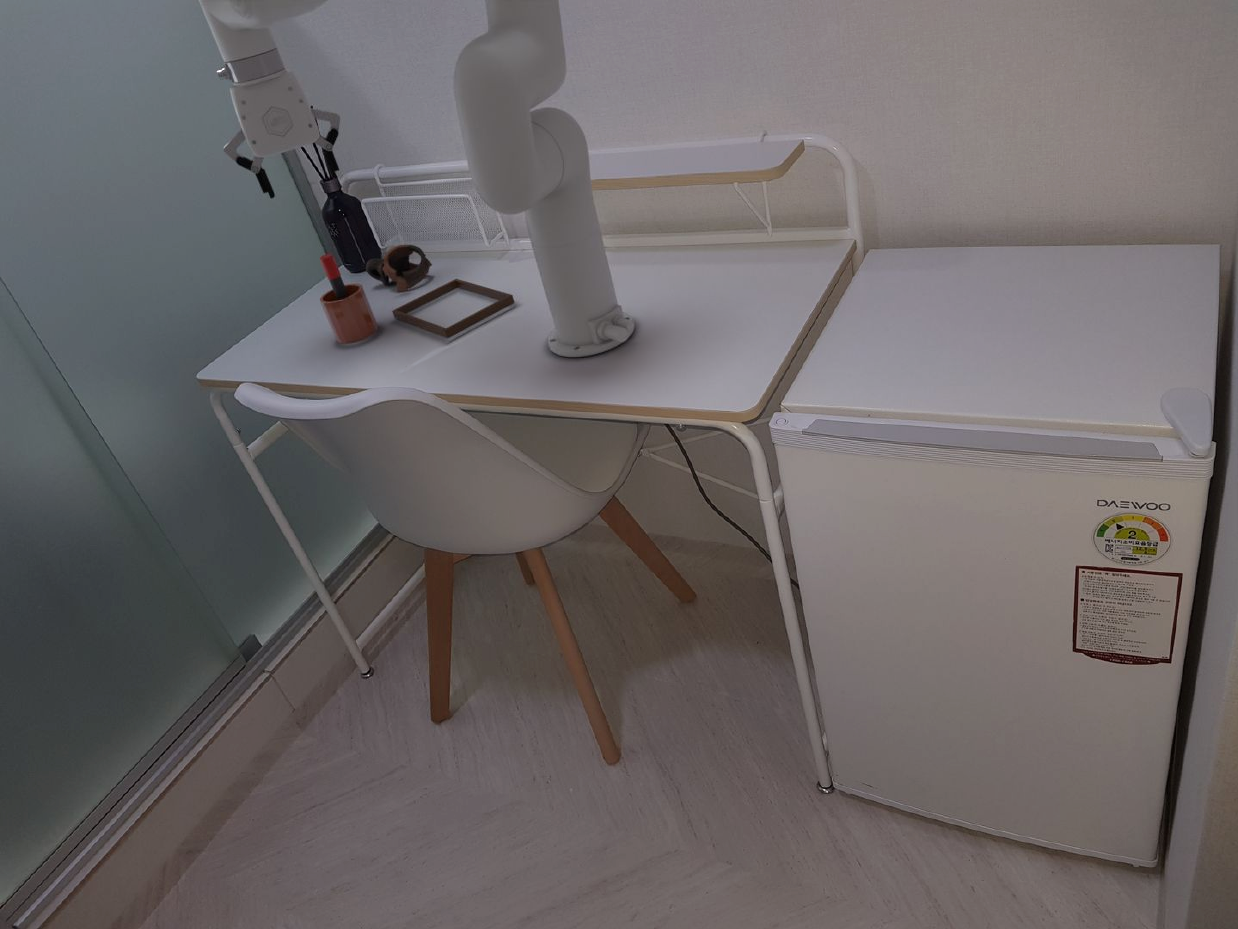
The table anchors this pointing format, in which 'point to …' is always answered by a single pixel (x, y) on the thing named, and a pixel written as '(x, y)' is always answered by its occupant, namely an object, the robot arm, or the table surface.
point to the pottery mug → (399, 267)
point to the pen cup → (349, 314)
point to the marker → (334, 276)
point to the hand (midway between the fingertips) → (303, 186)
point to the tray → (463, 324)
